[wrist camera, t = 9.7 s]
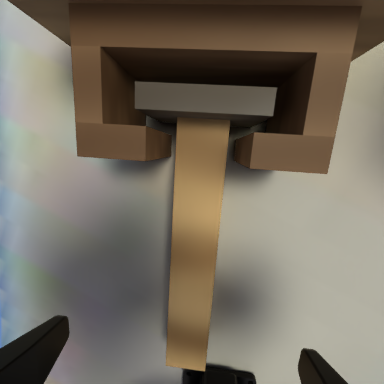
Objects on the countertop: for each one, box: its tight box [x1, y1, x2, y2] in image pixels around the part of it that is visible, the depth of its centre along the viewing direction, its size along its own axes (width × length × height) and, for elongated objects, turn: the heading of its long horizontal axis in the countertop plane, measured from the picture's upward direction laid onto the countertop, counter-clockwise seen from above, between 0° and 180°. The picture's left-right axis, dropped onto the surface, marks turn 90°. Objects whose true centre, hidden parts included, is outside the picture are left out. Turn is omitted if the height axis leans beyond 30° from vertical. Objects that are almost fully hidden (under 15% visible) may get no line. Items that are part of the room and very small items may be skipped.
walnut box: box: [8, 0, 384, 174], centre depth 9 cm, size 8×16×9 cm, turn 86°
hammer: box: [135, 81, 277, 371], centre depth 14 cm, size 19×6×5 cm, turn 176°
